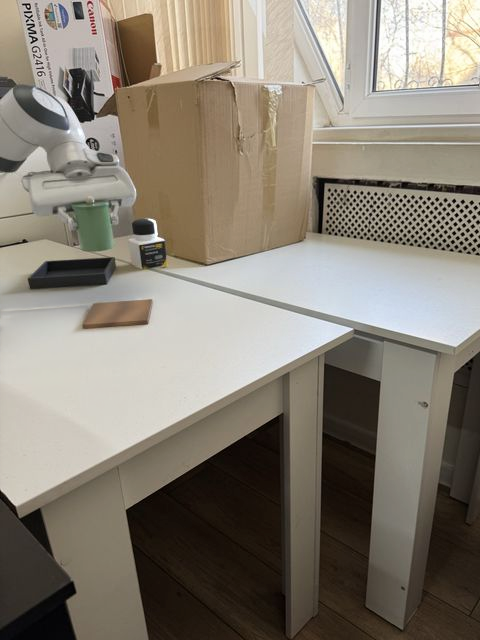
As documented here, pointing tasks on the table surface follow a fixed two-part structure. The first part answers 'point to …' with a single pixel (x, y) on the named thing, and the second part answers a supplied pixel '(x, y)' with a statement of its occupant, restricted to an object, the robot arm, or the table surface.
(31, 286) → the tray
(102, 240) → the green pot
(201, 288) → the table surface
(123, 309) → the wooden coaster
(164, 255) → the medicine bottle
